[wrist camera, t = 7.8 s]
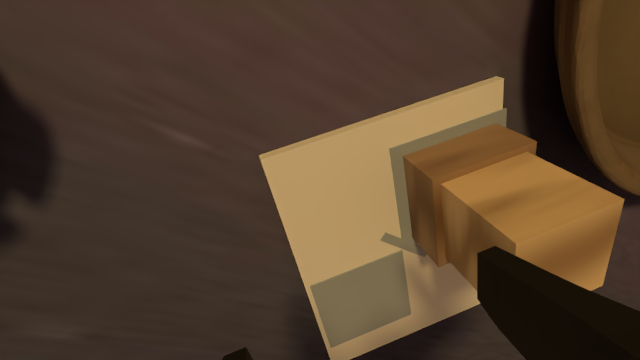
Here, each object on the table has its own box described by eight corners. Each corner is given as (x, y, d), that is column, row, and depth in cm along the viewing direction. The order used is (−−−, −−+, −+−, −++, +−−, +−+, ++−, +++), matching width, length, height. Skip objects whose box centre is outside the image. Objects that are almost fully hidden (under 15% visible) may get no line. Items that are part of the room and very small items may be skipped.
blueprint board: (492, 291, 30) (498, 297, 29) (330, 359, 28) (333, 368, 27) (499, 75, 20) (508, 77, 20) (258, 155, 18) (260, 160, 18)
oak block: (521, 226, 21) (602, 285, 17) (445, 257, 20) (510, 326, 16) (527, 151, 19) (624, 199, 14) (440, 184, 18) (516, 243, 14)
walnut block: (493, 205, 24) (528, 230, 21) (412, 237, 23) (438, 267, 21) (495, 123, 21) (537, 141, 18) (402, 156, 20) (432, 180, 18)
